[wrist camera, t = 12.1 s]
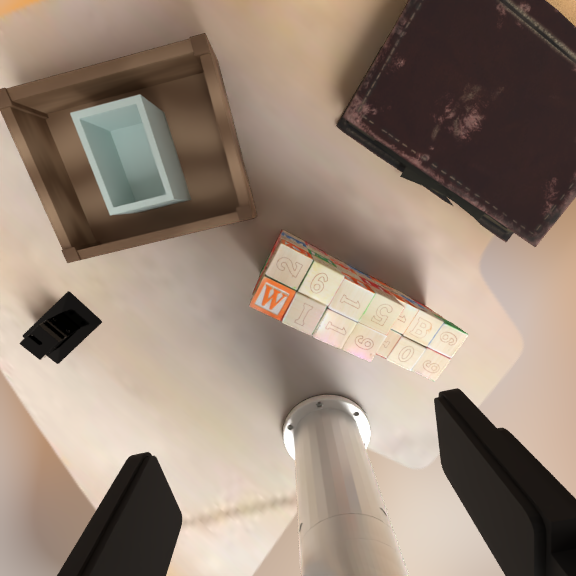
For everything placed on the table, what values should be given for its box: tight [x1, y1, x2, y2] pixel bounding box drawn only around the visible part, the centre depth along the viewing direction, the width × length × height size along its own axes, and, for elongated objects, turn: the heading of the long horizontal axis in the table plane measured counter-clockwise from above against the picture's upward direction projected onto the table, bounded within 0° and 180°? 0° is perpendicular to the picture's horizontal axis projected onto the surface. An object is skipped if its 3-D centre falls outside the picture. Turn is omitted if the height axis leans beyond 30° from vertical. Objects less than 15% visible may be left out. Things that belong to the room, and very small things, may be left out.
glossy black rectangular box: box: [20, 292, 102, 364], centre depth 37 cm, size 12×7×5 cm, turn 130°
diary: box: [336, 0, 576, 247], centre depth 31 cm, size 19×25×5 cm
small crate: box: [70, 94, 191, 215], centre depth 30 cm, size 9×6×6 cm
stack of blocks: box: [249, 230, 468, 381], centre depth 32 cm, size 21×6×12 cm, turn 63°
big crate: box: [0, 33, 257, 263], centre depth 31 cm, size 16×20×5 cm
